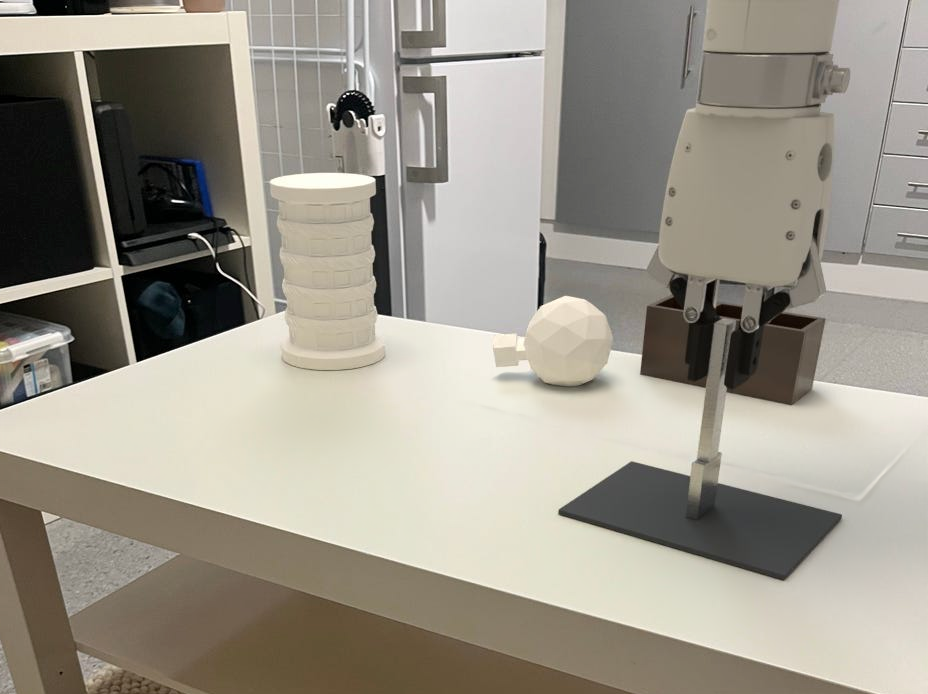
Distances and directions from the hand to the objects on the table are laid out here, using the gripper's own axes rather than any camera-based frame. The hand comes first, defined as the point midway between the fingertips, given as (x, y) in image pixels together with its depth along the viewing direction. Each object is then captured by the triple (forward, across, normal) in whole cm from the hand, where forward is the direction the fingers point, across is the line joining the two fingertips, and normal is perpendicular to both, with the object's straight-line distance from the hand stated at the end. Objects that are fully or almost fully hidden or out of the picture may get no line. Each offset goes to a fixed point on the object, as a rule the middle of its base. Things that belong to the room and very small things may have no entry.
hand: (718, 378), depth 72 cm
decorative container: (+11, +51, -15) cm, 54 cm away
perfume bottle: (+11, +26, -21) cm, 35 cm away
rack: (+11, +11, -30) cm, 34 cm away
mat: (+11, 0, 0) cm, 11 cm away
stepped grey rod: (+10, 0, 0) cm, 10 cm away
